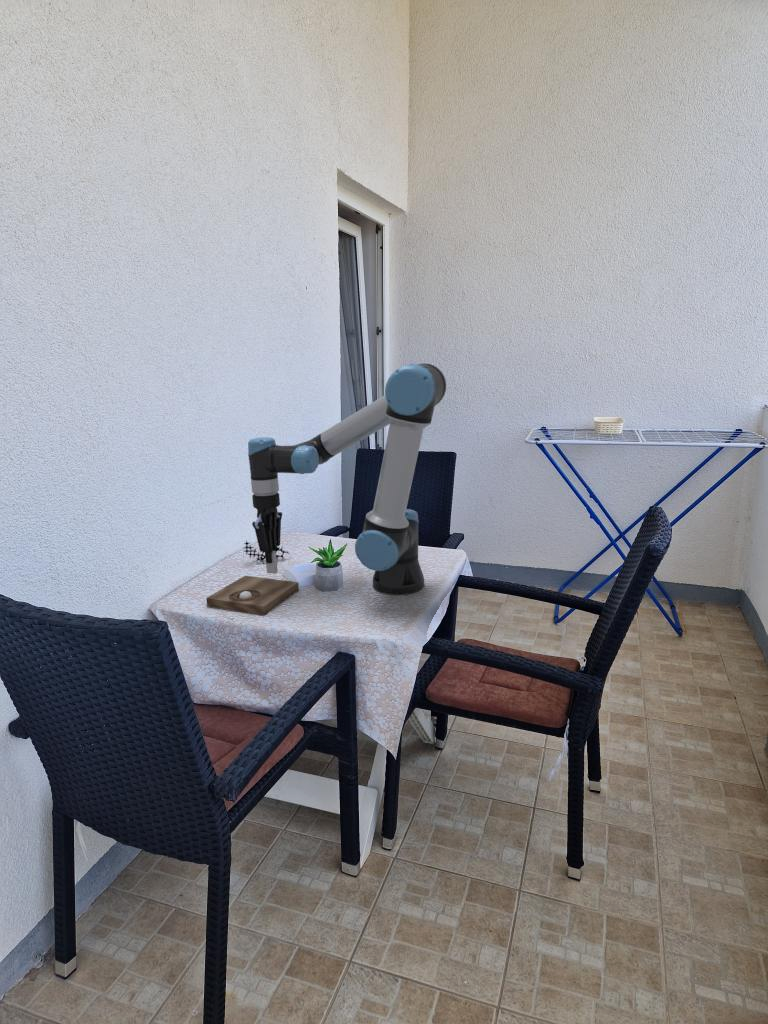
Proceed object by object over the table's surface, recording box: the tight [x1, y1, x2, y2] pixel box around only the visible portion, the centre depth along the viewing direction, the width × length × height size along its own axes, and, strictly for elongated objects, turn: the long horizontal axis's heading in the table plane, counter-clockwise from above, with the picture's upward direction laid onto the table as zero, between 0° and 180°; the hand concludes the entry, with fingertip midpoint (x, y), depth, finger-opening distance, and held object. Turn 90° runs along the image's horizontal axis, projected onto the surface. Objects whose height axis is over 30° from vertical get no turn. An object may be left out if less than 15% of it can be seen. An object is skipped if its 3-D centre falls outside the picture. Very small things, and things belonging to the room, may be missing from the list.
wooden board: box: [206, 575, 300, 616], centre depth 183 cm, size 18×19×2 cm
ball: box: [239, 591, 252, 599], centre depth 179 cm, size 4×4×4 cm
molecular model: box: [242, 540, 290, 564], centre depth 214 cm, size 6×15×8 cm, turn 115°
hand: (272, 572), depth 189 cm, fingers closed
